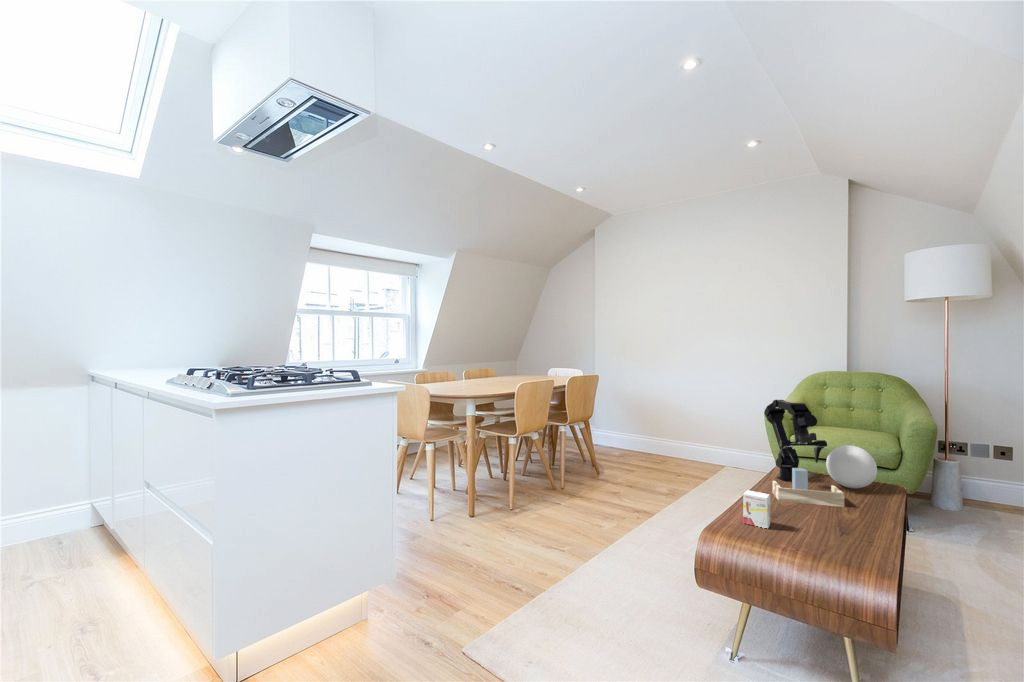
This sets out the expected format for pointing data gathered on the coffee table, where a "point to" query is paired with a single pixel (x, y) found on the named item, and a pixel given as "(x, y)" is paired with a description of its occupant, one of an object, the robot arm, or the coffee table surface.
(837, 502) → the birch crate
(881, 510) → the coffee table surface
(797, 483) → the pale blue block
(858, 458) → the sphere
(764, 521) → the ink box
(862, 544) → the coffee table surface
